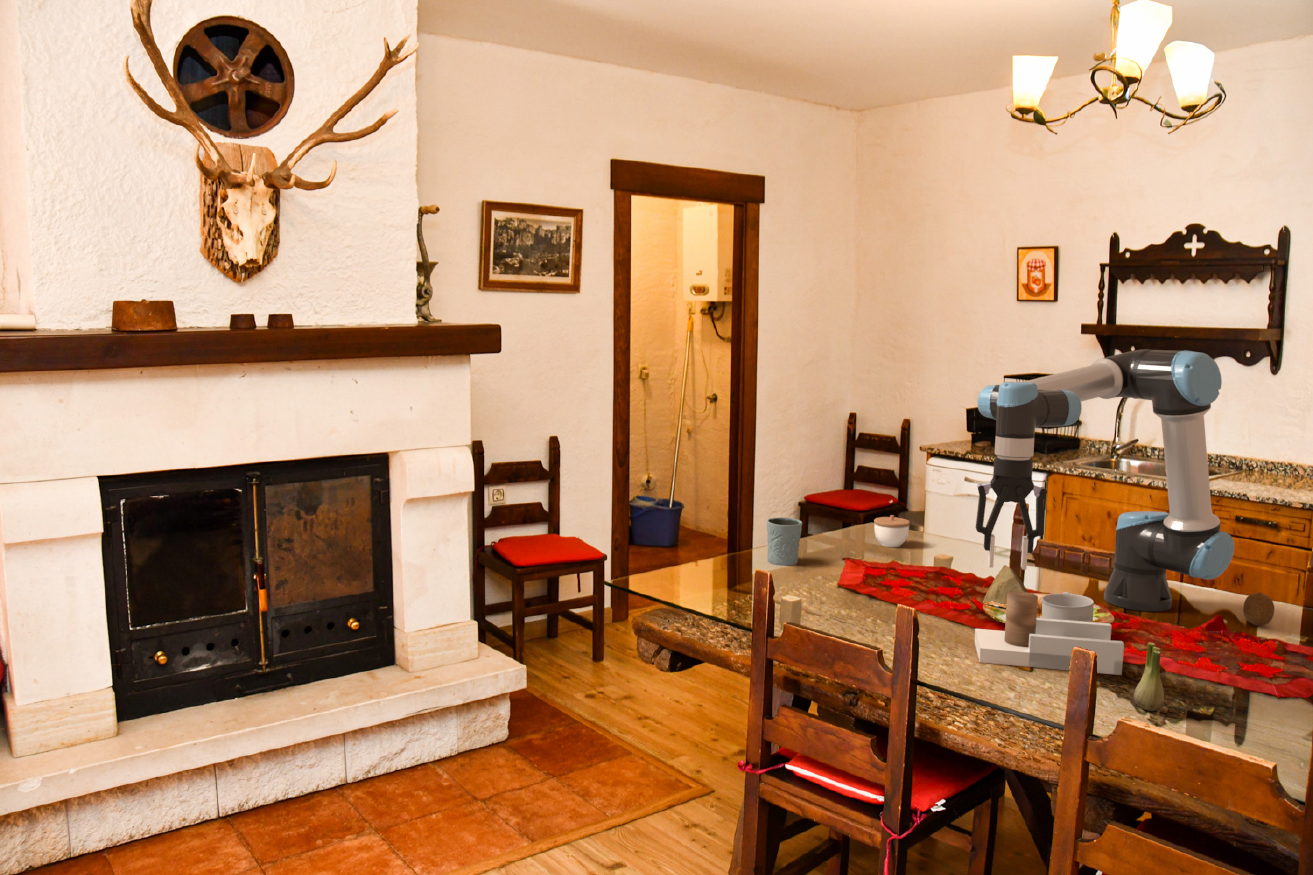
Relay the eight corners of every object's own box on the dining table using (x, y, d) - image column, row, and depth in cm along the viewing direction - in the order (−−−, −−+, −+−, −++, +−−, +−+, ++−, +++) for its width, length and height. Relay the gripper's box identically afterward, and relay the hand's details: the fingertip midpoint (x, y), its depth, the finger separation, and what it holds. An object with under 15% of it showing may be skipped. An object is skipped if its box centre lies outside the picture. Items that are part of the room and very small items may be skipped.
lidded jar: (874, 548, 296) (875, 518, 295) (872, 540, 307) (873, 511, 306) (910, 549, 295) (911, 519, 294) (907, 541, 305) (908, 512, 304)
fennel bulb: (1158, 716, 174) (1163, 652, 172) (1128, 709, 177) (1133, 645, 175) (1167, 707, 178) (1172, 644, 176) (1138, 699, 181) (1143, 637, 180)
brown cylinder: (1034, 639, 205) (1037, 593, 204) (1035, 648, 200) (1038, 600, 198) (1004, 635, 207) (1007, 590, 206) (1004, 644, 202) (1007, 597, 200)
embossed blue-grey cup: (776, 555, 286) (777, 515, 284) (807, 561, 280) (808, 520, 278) (759, 562, 278) (760, 521, 276) (790, 568, 272) (791, 526, 270)
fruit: (1235, 623, 227) (1238, 590, 226) (1253, 620, 230) (1256, 587, 229) (1260, 631, 222) (1264, 597, 221) (1279, 628, 224) (1282, 594, 223)
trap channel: (1107, 653, 206) (1109, 623, 205) (1121, 675, 194) (1124, 643, 193) (974, 641, 212) (976, 612, 211) (979, 662, 200) (981, 631, 199)
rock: (1045, 603, 234) (1021, 586, 243) (1030, 578, 231) (1006, 562, 240) (1010, 630, 233) (987, 612, 243) (994, 605, 230) (972, 588, 240)
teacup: (1087, 644, 212) (1090, 608, 211) (1035, 635, 217) (1037, 600, 216) (1097, 627, 223) (1099, 593, 222) (1047, 618, 229) (1049, 585, 228)
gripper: (1059, 456, 201) (1052, 565, 204) (964, 452, 205) (958, 559, 208) (1065, 462, 194) (1058, 574, 197) (967, 457, 198) (961, 568, 201)
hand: (1007, 566), depth 202 cm, fingers open, 6 cm apart
